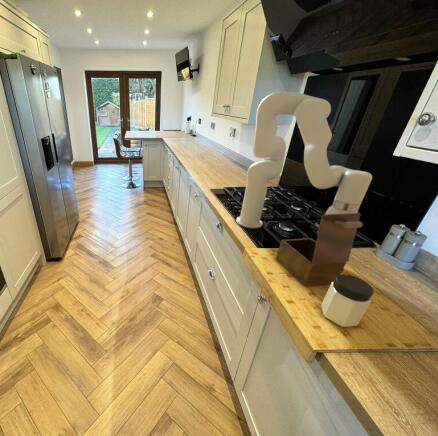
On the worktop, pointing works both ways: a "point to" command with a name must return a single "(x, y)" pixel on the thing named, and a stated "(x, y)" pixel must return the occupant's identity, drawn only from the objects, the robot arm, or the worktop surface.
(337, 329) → the worktop surface
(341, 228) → the lid
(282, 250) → the chest
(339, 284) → the jar
